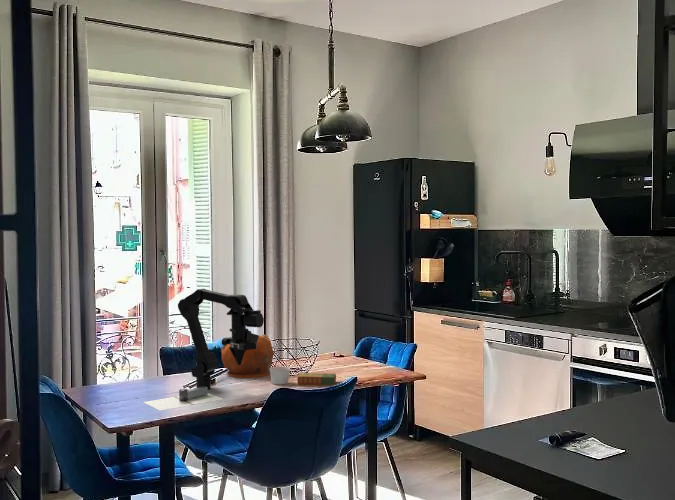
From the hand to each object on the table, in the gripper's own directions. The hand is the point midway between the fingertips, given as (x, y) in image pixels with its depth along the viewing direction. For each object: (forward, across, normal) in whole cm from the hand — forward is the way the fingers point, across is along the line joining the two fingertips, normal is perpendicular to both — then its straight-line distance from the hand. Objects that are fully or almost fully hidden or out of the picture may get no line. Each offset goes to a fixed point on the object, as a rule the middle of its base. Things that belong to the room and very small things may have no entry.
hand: (239, 364), depth 274 cm
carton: (+13, -4, -36) cm, 38 cm away
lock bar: (+11, +2, +19) cm, 22 cm away
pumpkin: (+12, +34, -25) cm, 44 cm away
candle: (+12, +7, -24) cm, 28 cm away
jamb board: (+12, +1, +24) cm, 27 cm away
